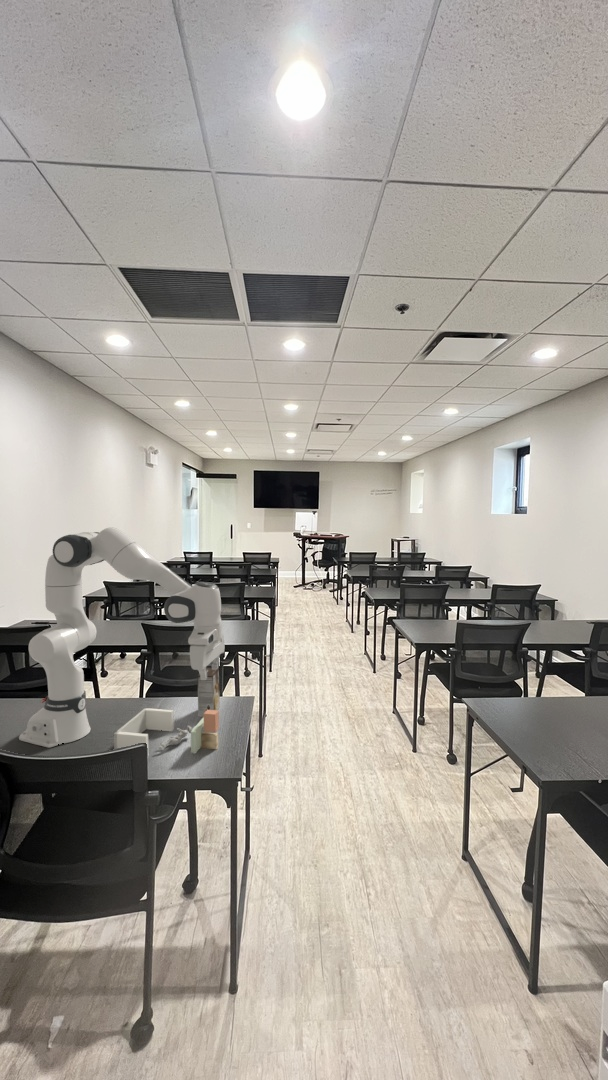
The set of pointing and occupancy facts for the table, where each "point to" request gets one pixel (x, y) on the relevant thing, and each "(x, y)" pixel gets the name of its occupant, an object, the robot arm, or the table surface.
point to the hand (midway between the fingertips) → (209, 674)
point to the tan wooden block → (209, 740)
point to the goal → (143, 727)
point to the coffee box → (208, 692)
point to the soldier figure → (176, 738)
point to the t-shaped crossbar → (204, 728)
